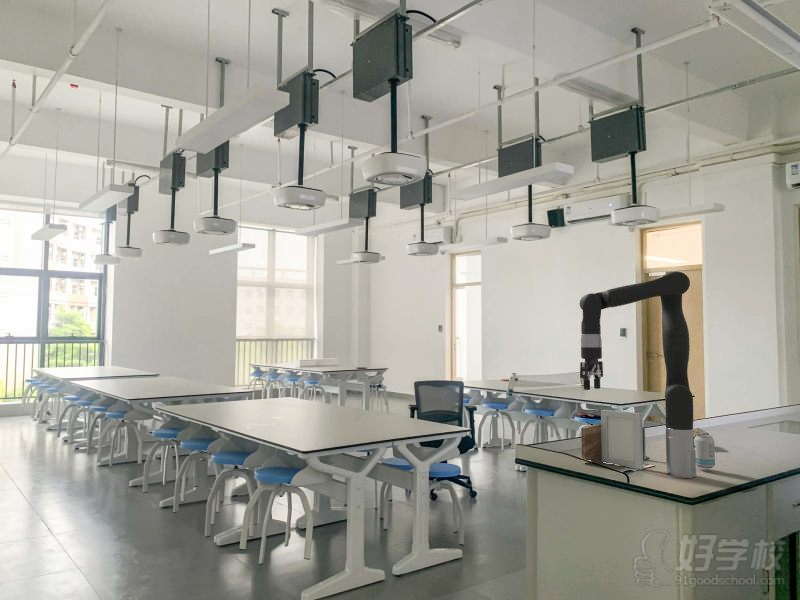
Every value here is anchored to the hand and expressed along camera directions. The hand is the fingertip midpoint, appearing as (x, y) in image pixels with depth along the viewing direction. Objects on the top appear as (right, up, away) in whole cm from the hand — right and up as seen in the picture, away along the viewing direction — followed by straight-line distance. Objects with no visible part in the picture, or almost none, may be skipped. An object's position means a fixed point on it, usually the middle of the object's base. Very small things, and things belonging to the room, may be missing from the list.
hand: (592, 389), depth 228 cm
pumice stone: (+64, -34, +49) cm, 87 cm away
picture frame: (+13, -31, +5) cm, 34 cm away
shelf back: (+8, -31, +17) cm, 36 cm away
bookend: (+23, -31, +22) cm, 45 cm away
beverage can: (+44, -31, +3) cm, 54 cm away
